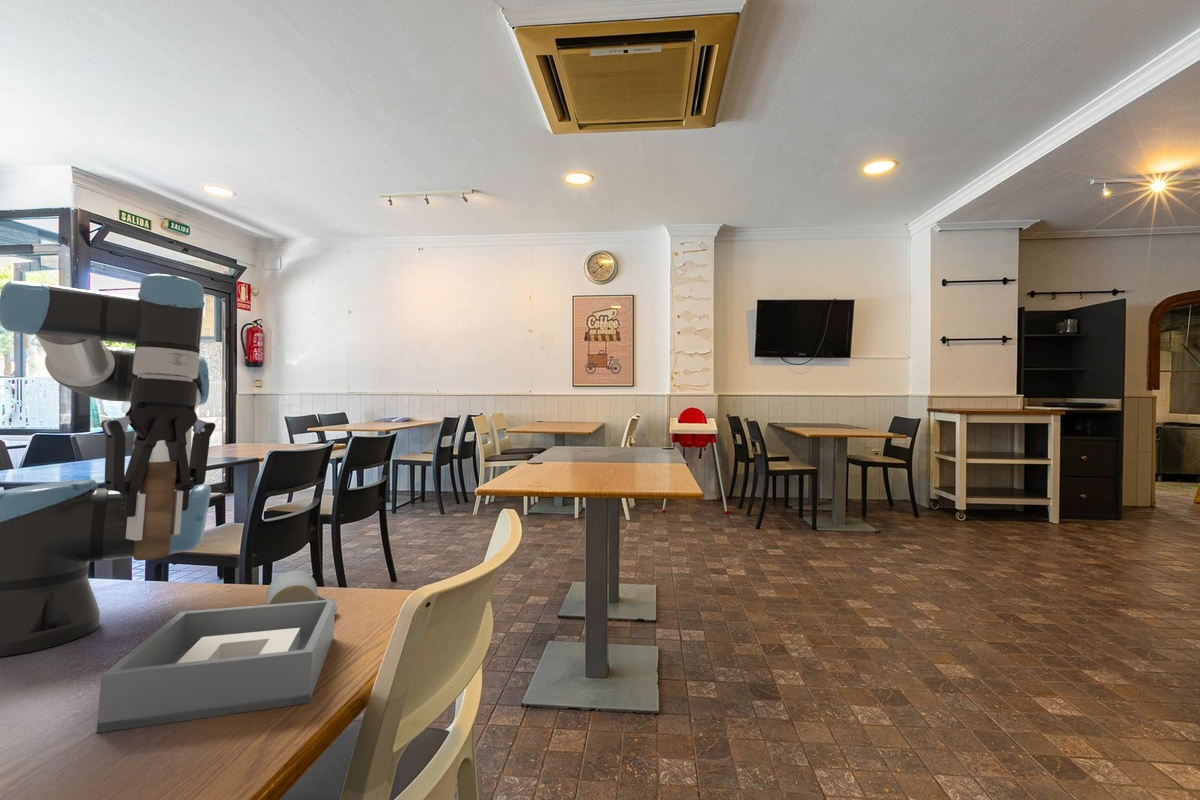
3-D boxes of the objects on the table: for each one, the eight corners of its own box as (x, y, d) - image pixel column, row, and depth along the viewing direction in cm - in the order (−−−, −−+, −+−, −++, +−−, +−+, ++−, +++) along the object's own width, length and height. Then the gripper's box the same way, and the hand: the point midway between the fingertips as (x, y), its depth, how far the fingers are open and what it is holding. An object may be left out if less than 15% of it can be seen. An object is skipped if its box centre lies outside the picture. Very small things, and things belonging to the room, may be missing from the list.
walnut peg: (141, 554, 76) (149, 460, 77) (174, 552, 77) (181, 460, 78) (127, 561, 72) (135, 462, 73) (162, 559, 74) (170, 462, 74)
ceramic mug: (264, 634, 81) (268, 584, 81) (264, 617, 87) (268, 572, 88) (338, 623, 86) (342, 577, 87) (333, 608, 93) (336, 565, 94)
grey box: (177, 654, 73) (180, 611, 73) (333, 638, 80) (335, 599, 80) (96, 733, 54) (101, 675, 54) (309, 703, 61) (312, 651, 61)
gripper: (105, 372, 67) (89, 551, 66) (241, 384, 83) (230, 529, 81) (77, 373, 70) (62, 544, 69) (213, 384, 86) (203, 524, 84)
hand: (153, 535), depth 75 cm, fingers closed on walnut peg, 4 cm apart
